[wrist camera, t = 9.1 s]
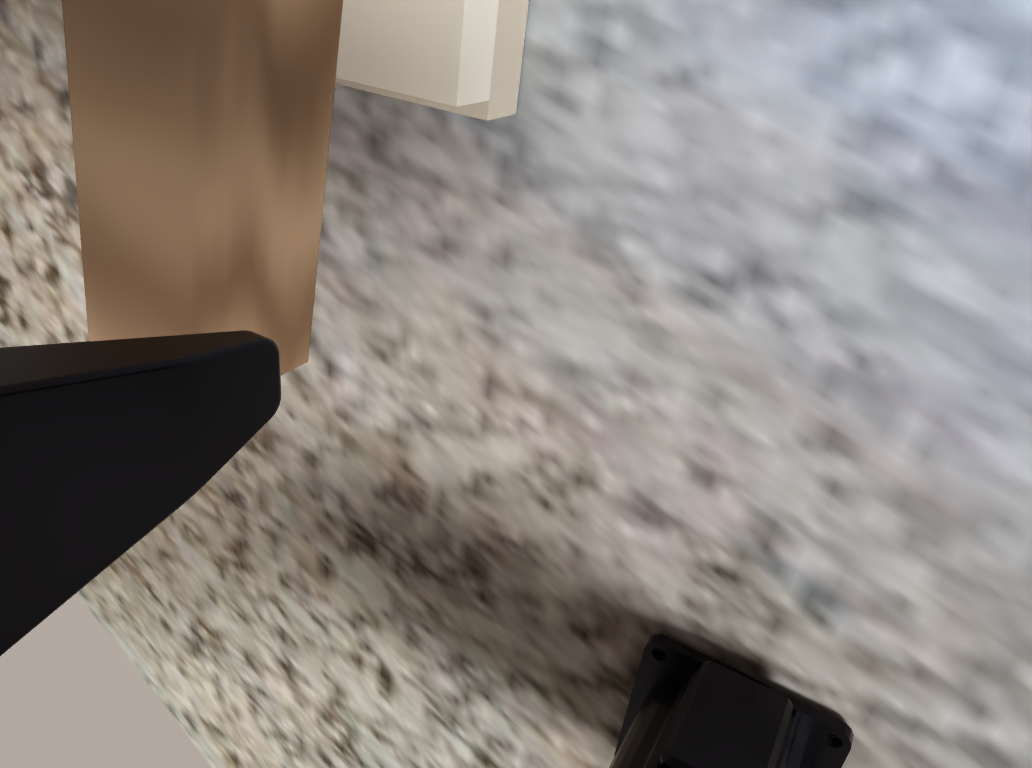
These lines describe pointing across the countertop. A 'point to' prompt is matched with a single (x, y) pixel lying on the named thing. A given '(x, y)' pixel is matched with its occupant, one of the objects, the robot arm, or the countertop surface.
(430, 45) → the stepped block
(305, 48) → the walnut bar
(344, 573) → the countertop surface
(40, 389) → the robot arm
